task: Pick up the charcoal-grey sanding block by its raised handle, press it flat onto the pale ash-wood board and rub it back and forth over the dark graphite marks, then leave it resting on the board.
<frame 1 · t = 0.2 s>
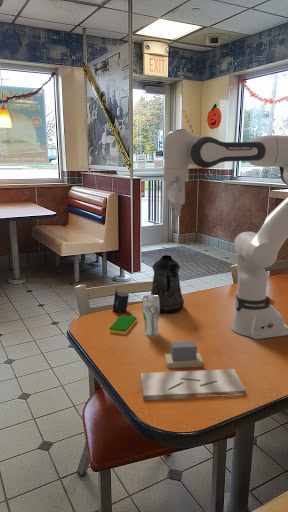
hand: (175, 214, 142), 47 cm above the table, tool pointing down, fingers open, 8 cm apart
sanding block: (183, 363, 131), on the table
dish sponge: (123, 328, 160), on the table
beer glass: (151, 333, 154), on the table
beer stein: (168, 309, 179), on the table
marked board: (191, 385, 118), on the table
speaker: (120, 310, 177), on the table
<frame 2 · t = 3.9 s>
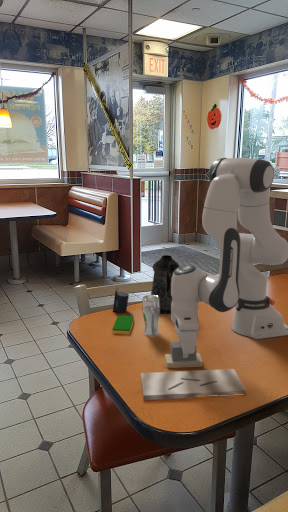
hand: (183, 352, 130), 4 cm above the table, tool pointing down, fingers closed on sanding block, 4 cm apart
sanding block: (183, 363, 131), on the table, touching gripper
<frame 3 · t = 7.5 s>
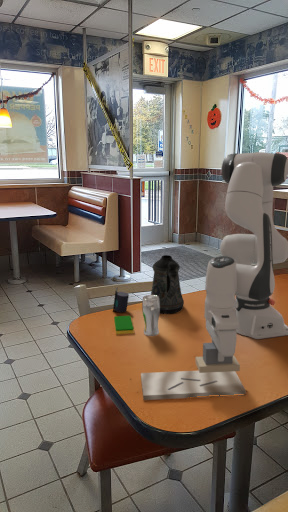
hand: (218, 355, 115), 10 cm above the table, tool pointing down, fingers closed on sanding block, 4 cm apart
sanding block: (217, 366, 116), point 6 cm above the table, touching gripper
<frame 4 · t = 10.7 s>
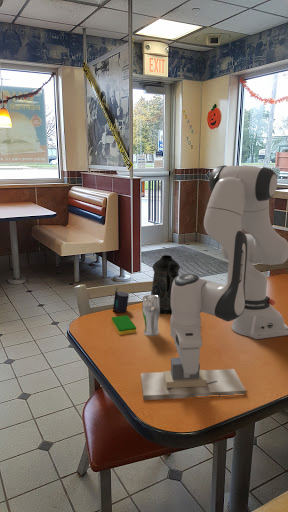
hand: (184, 371, 116), 5 cm above the table, tool pointing down, fingers closed on sanding block, 4 cm apart
sanding block: (184, 381, 117), point 2 cm above the table, touching gripper
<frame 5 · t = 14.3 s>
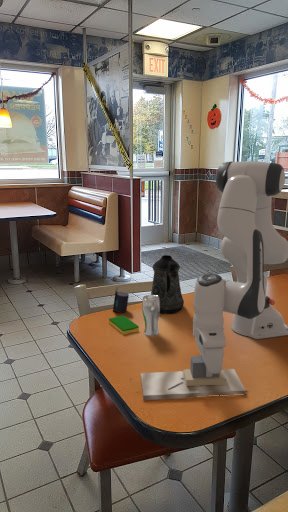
hand: (206, 370, 117), 5 cm above the table, tool pointing down, fingers closed on sanding block, 4 cm apart
sanding block: (204, 379, 118), point 2 cm above the table, touching gripper
when the fingers open (5 cm above the table, at t = 17.5 s): sanding block stays where it is, resting on marked board.
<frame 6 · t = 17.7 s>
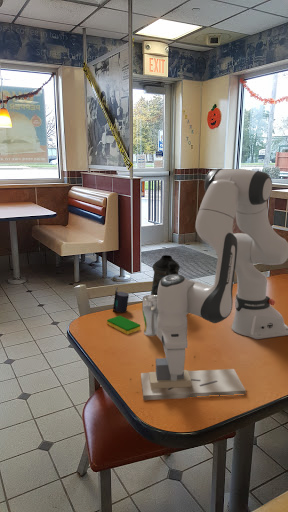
hand: (171, 372, 116), 5 cm above the table, tool pointing down, fingers open, 6 cm apart
sanding block: (169, 382, 117), point 2 cm above the table, touching marked board
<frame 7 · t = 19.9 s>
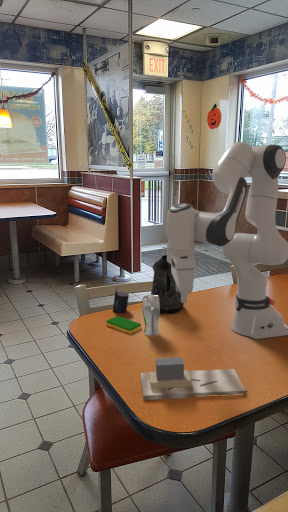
hand: (181, 296, 126), 24 cm above the table, tool pointing down, fingers open, 8 cm apart
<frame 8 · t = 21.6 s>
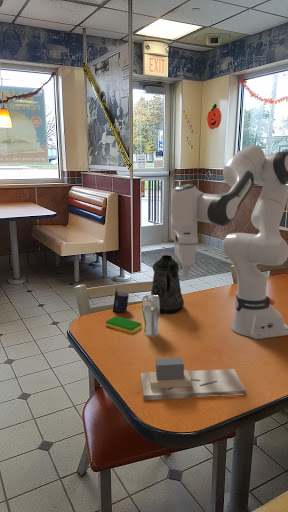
hand: (183, 273, 133), 29 cm above the table, tool pointing down, fingers open, 8 cm apart
at the end: sanding block inside the target area (0.6 cm from its centre), point 1.6 cm above the table; sanding block touching marked board; the gripper is holding nothing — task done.
